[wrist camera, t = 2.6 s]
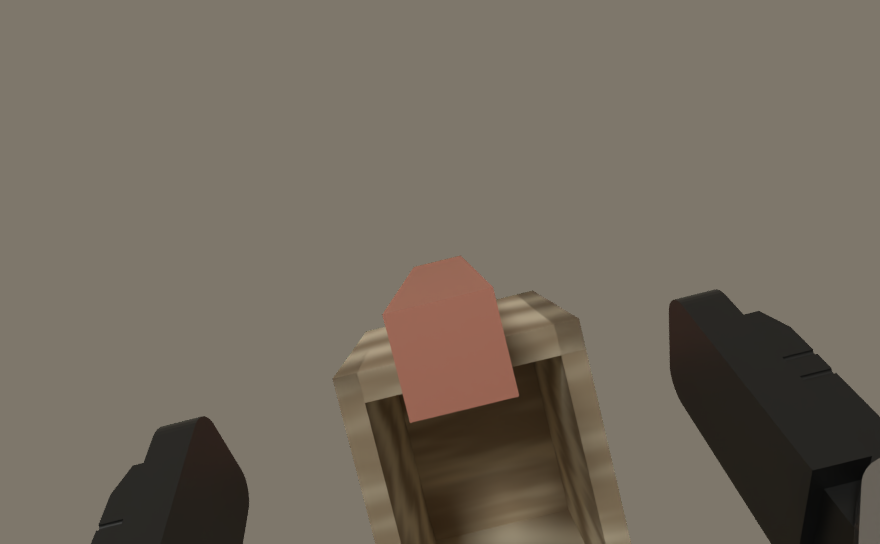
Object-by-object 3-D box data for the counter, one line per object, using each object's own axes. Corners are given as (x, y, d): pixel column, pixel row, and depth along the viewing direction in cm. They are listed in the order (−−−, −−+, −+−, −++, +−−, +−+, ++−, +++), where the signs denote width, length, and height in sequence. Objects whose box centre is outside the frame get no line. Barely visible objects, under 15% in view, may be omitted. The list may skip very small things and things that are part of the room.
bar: (519, 396, 19) (493, 287, 19) (409, 423, 19) (382, 314, 19) (471, 302, 45) (460, 255, 45) (425, 313, 45) (413, 267, 45)
